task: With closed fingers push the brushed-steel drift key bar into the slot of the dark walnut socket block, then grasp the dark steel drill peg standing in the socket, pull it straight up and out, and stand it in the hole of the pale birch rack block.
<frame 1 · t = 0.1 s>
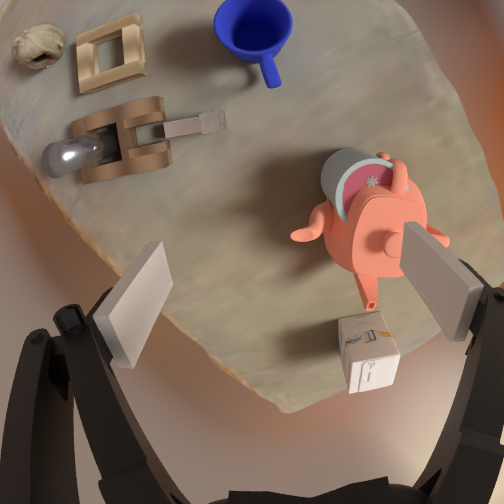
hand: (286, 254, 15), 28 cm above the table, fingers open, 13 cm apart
mug 2: (346, 193, 42), on the table, touching teapot
teapot: (355, 212, 43), on the table, touching mug 2
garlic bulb: (56, 48, 32), on the table
socket block: (125, 139, 39), on the table
mug: (260, 54, 33), on the table
rack: (114, 55, 33), on the table
ink box: (358, 330, 53), on the table
drill peg: (114, 142, 39), resting in socket block
drift key: (191, 125, 35), point 3 cm above the table, slide at 0.0 cm
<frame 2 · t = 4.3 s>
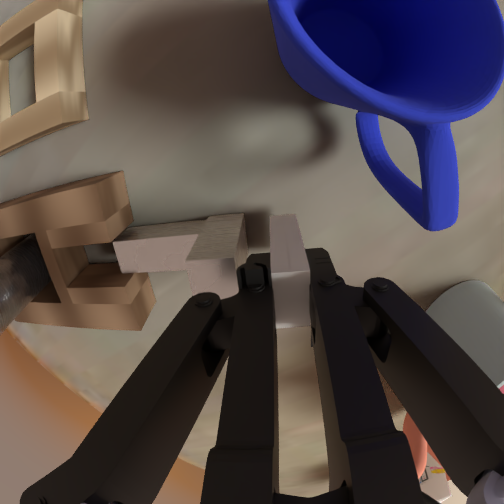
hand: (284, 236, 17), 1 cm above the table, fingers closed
mug 2: (444, 340, 23), on the table, touching teapot
teapot: (450, 358, 24), on the table, touching mug 2
socket block: (65, 248, 20), on the table
mug: (344, 81, 15), on the table
rack: (32, 77, 14), on the table
ink box: (404, 452, 34), on the table
drill peg: (49, 250, 20), resting in socket block
drift key: (172, 258, 16), point 3 cm above the table, slide at 1.0 cm, touching gripper
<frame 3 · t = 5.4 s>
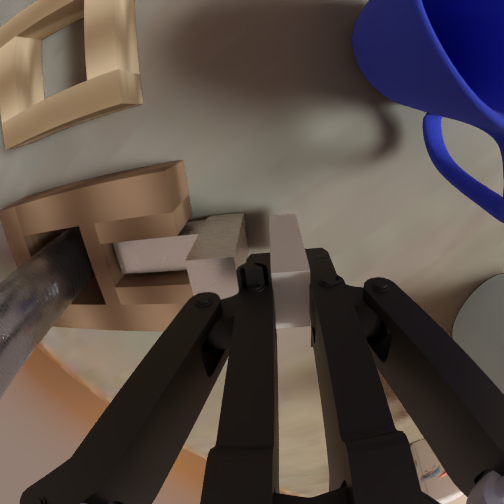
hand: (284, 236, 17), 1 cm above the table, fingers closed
mug 2: (477, 331, 22), on the table, touching teapot
socket block: (106, 245, 20), on the table
mug: (406, 84, 14), on the table
rack: (72, 58, 14), on the table
ink box: (428, 444, 34), on the table
drill peg: (86, 247, 20), resting in socket block
drift key: (172, 258, 16), point 3 cm above the table, slide at 5.1 cm, touching gripper
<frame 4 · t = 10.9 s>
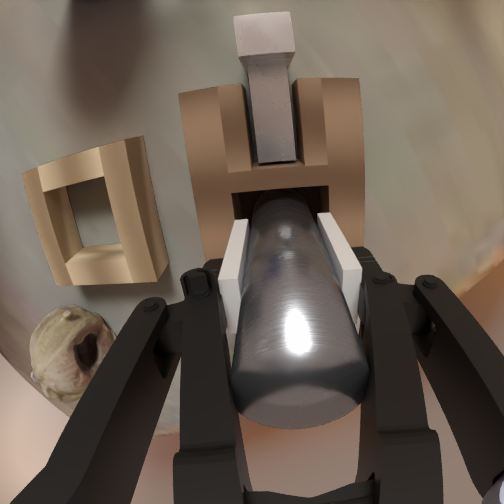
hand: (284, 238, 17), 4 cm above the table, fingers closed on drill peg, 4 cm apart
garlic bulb: (89, 323, 27), on the table
socket block: (278, 187, 20), on the table
rack: (100, 210, 21), on the table
drill peg: (281, 214, 21), resting in socket block, touching gripper
drift key: (270, 94, 15), point 3 cm above the table, slide at 5.2 cm
when the fingers open (5 cm above the table, at t = 17.0 s): drill peg stays where it is, resting in rack.
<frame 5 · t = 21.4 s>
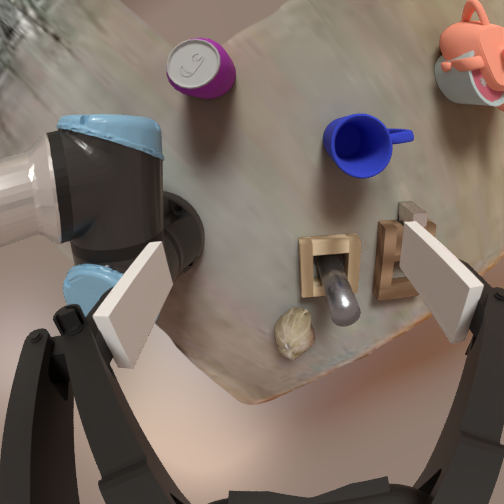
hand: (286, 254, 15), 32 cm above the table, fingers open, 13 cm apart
mug 2: (463, 78, 34), on the table, touching teapot
teapot: (469, 65, 33), on the table, touching mug 2
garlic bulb: (294, 316, 57), on the table
socket block: (400, 255, 50), on the table
mug: (354, 136, 41), on the table
beverage can: (211, 76, 38), on the table
rack: (327, 261, 51), on the table
drill peg: (327, 261, 51), resting in rack
drift key: (410, 230, 44), point 3 cm above the table, slide at 5.2 cm
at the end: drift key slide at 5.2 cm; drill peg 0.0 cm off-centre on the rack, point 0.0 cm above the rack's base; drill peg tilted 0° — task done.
